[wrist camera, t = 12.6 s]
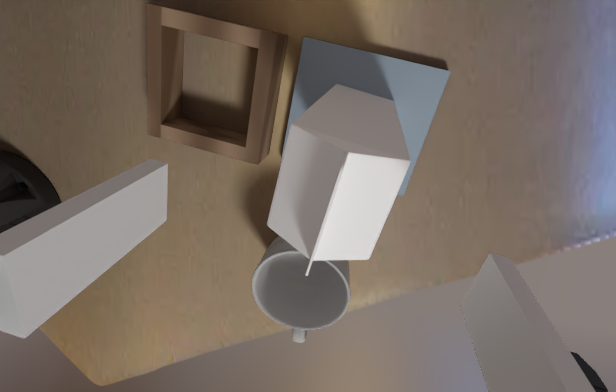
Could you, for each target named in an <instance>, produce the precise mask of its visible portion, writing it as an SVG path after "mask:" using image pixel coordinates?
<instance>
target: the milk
mask: <svg viewBox="0 0 616 392" xmlns="http://www.w3.org/2000/svg"><path fill="white" fill-rule="evenodd" d="M410 163H411V159H410V156H409V152H408V149H407V145H406V141H405V138H404V134H403V130H402V127H401V123H400V119H399V116H398V112H397V109H396V105H395V102H394V101H392V100H389V99H386V98H382V97H379V96H376V95H373V94H369V93H366V92H363V91H359V90H356V89H353V88H350V87H346V86H343V85H340V84H336V85H335V86H334V87H333V88H331V89H330V90H329V91H328V92H327V93H326V94H325V95H323V96H322V97H321V98H320V99H319V100H318V101H316V102H315V103H314V104H313V105H312V106H311V107H309V108H308V109H307V110H306V111H305V112H304V113H303V114H301V115H300V116H299V117H298V118H297V119H296V120H294V121H293V122H292V123H291V125H290V129H289V133H288V137H287V141H286V145H285V150H284V154H283V158H282V162H281V166H280V170H279V175H278V179H277V183H276V187H275V191H274V196H273V200H272V204H271V208H270V212H269V216H268V221H267V226H268V227H269V228H271V229H272V230H273V231H274V232H276V233H277V234H278V235H279V236H281V237H282V238H283V239H285V240H286V241H287V242H288V243H290V244H291V245H292V246H293V247H295V248H296V249H297V250H298V251H300V252H301V253H302V254H303V255H305V256H306V257H307V258H308V259H310V262H309V265H308V268H307V271H306V274H305V275H306V276H308V273H309V270H310V267H311V264H312V261H319V260H367V259H369V258H370V256H371V253H372V251H373V249H374V246H375V244H376V242H377V239H378V237H379V235H380V232H381V230H382V228H383V225H384V223H385V221H386V218H387V216H388V214H389V212H390V209H391V207H392V205H393V202H394V200H395V198H396V195H397V193H398V191H399V188H400V186H401V184H402V181H403V179H404V177H405V175H406V172H407V170H408V168H409V165H410Z"/></svg>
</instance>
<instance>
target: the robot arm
mask: <svg viewBox="0 0 616 392" xmlns="http://www.w3.org/2000/svg"><path fill="white" fill-rule="evenodd" d="M167 178H168V164H167V163H164V162H160V161H157V160H153V159H149V160H147V161H145V162H143V163H141V164H139V165H137V166H135V167H133V168H131V169H129V170H127V171H125V172H123V173H121V174H119V175H117V176H115V177H113V178H111V179H109V180H107V181H105V182H103V183H101V184H99V185H97V186H95V187H93V188H91V189H89V190H87V191H85V192H83V193H81V194H79V195H77V196H75V197H73V198H71V199H69V200H67V201H65V202H63V203H61V202H60V200H59V198H58V196H57V194H56V192H55V190H54V188H53V187H52V185H51V184H50V183H49V181H48V180H47V179H46V178H45V177H44V175H43V174H42V173H41V172H40V171H39V170H38V169H36V168H35V167H34V166H33V165H32V164H30V163H29V162H27V161H26V160H24V159H23V158H21V157H19V156H17V155H15V154H13V153H10V152H7V151H2V150H0V331H3V332H6V333H9V334H12V335H15V336H18V337H21V338H26V337H27V336H28V335H29V334H30V333H32V332H33V331H34V330H35V329H37V328H38V327H39V326H40V325H41V324H43V323H44V322H45V321H46V320H47V319H49V318H50V317H51V316H52V315H53V314H55V313H56V312H57V311H58V310H59V309H61V308H62V307H63V306H64V305H65V304H67V303H68V302H69V301H70V300H71V299H73V298H74V297H75V296H76V295H77V294H79V293H80V292H81V291H82V290H83V289H85V288H86V287H87V286H88V285H90V284H91V283H92V282H93V281H94V280H96V279H97V278H98V277H99V276H100V275H102V274H103V273H104V272H105V271H106V270H108V269H109V268H110V267H111V266H112V265H114V264H115V263H116V262H117V261H118V260H120V259H121V258H122V257H123V256H124V255H126V254H127V253H128V252H129V251H130V250H132V249H133V248H134V247H135V246H136V245H138V244H139V243H140V242H141V241H142V240H144V239H145V238H146V237H147V236H148V235H150V234H151V233H152V232H153V231H154V230H156V229H157V228H158V227H159V226H160V225H162V224H163V223H164V222H165V221H166V220H167ZM460 307H461V310H462V313H463V316H464V319H465V322H466V325H467V328H468V331H469V334H470V338H471V340H472V344H473V346H474V350H475V353H476V355H477V359H478V361H479V365H480V368H481V371H482V374H483V377H484V380H485V383H486V386H487V389H488V392H608V390H607V388H606V387H605V385H604V383H603V382H602V381H601V379H600V378H599V376H598V375H597V373H596V372H595V371H594V370H593V369H592V368H591V367H590V366H589V365H588V364H587V363H586V362H585V361H584V360H583V359H582V358H581V357H580V356H579V355H578V354H577V353H573V352H570V351H569V349H568V348H567V346H566V345H565V343H564V342H563V340H562V338H561V337H560V336H559V334H558V332H557V331H556V329H555V327H554V326H553V324H552V323H551V321H550V320H549V318H548V317H547V315H546V313H545V312H544V311H543V309H542V307H541V306H540V304H539V303H538V301H537V299H536V298H535V296H534V295H533V293H532V292H531V290H530V288H529V287H528V285H527V284H526V282H525V281H524V279H523V277H522V276H521V275H520V273H519V271H518V270H517V268H516V267H515V265H514V263H513V262H512V260H511V259H510V258H508V257H504V256H500V255H497V254H493V253H489V255H488V257H487V258H486V260H485V262H484V264H483V265H482V267H481V269H480V271H479V273H478V274H477V276H476V278H475V280H474V282H473V283H472V285H471V287H470V289H469V290H468V292H467V294H466V296H465V298H464V300H463V301H462V303H461V305H460Z"/></svg>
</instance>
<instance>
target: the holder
mask: <svg viewBox="0 0 616 392" xmlns="http://www.w3.org/2000/svg"><path fill="white" fill-rule="evenodd" d="M146 11H147V108H148V135H151V136H155V137H159V138H162V139H166V140H170V141H173V142H177V143H180V144H184V145H188V146H191V147H195V148H199V149H202V150H206V151H209V152H213V153H217V154H220V155H224V156H228V157H231V158H235V159H238V160H242V161H246V162H249V163H253V164H257V165H258V164H259V163H260V162H261V161H262V160H263V159H264V158H265V157H266V156H267V155H268V154H269V150H270V144H271V138H272V132H273V126H274V120H275V114H276V108H277V102H278V96H279V90H280V83H281V77H282V71H283V65H284V59H285V53H286V47H287V41H288V35H284V34H279V33H275V32H271V31H267V30H263V29H258V28H254V27H250V26H246V25H241V24H237V23H233V22H229V21H225V20H220V19H216V18H212V17H208V16H204V15H199V14H195V13H191V12H187V11H183V10H178V9H174V8H170V7H164V6H159V5H154V4H148V3H146ZM184 31H188V32H192V33H196V34H200V35H205V36H209V37H213V38H217V39H221V40H225V41H229V42H233V43H237V44H242V45H246V46H250V47H254V48H258V56H257V64H256V72H255V79H254V87H253V95H252V103H251V110H250V118H249V126H248V133H247V135H246V134H242V133H238V132H234V131H231V130H227V129H223V128H219V127H216V126H212V125H208V124H205V123H201V122H197V121H193V120H190V119H186V118H182V117H181V108H182V80H183V52H184Z"/></svg>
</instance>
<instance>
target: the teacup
mask: <svg viewBox="0 0 616 392" xmlns="http://www.w3.org/2000/svg"><path fill="white" fill-rule="evenodd" d="M309 262H310V259H308V258H307V257H306V256H305V255H303V254H302V253H301V252H300V251H298V250H297V249H296V248H295V247H293V246H292V245H291V244H290V243H288V242H287V241H286V240H285V239H283V238H282V237H281V236H278V237H277V238H275V239H274V241H273V242H272V243H271V244H270V246H269V247H268V249H267V250H266V252H265V254H264V256H263V258H262V260H261V262H260V264H259V265H258V266H257V268H256V269H255V272H254V274H253V277H252V284H251V287H252V292H253V296H254V299H255V301H256V303H257V305H258V306H259V308H260V309H261V310H262V311H263V312H264V313H265V314H266V315H267V316H268V317H269V318H271V319H272V320H274V321H276V322H278V323H280V324H282V325H285V326H288V327H290V328H292V340H293V341H295V342H300V343H302V342H304V341H305V339H306V334H307V330H312V329H319V328H324V327H327V326H329V325H331V324H333V323H335V322H336V321H337V320H339V319H340V318H341V317H342V316H343V314H344V313H345V311H346V310H347V308H348V306H349V303H350V296H351V292H350V274H349V263H348V260H319V261H312V264H311V267H310V270H309V273H308V276H306V275H305V274H306V271H307V268H308V265H309Z"/></svg>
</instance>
